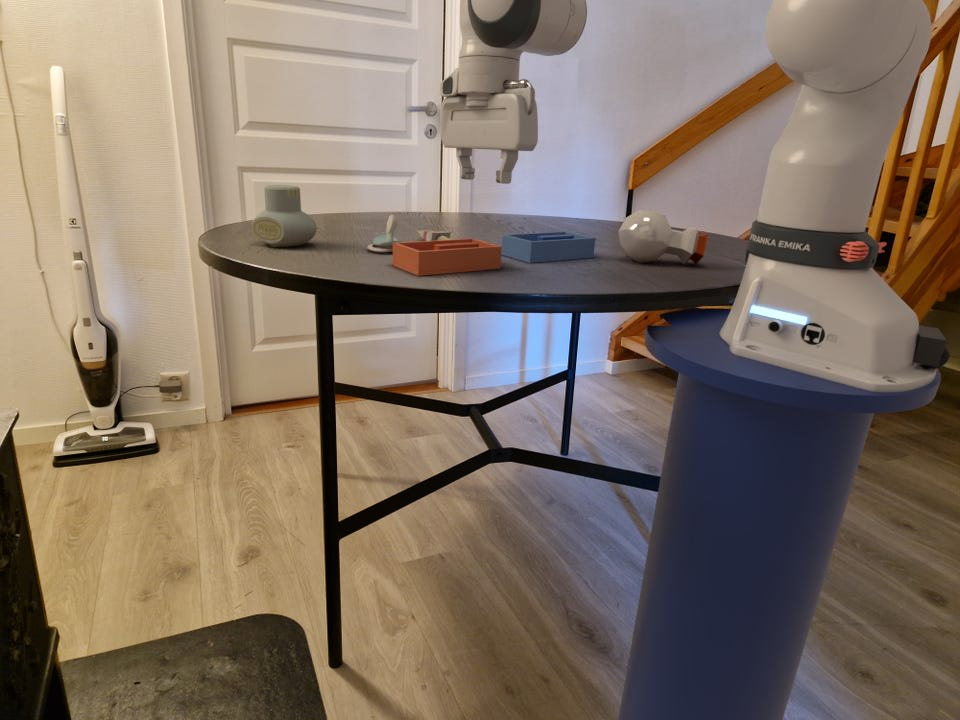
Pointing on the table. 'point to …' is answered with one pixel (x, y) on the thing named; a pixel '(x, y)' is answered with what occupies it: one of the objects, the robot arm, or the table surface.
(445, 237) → the wrapped snack bar
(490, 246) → the terracotta tray
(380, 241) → the pacifier
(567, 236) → the blue block with disc
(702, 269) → the table surface
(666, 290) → the table surface
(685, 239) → the potion bottle
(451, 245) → the orange stepped block
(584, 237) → the blue tray
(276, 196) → the air freshener
